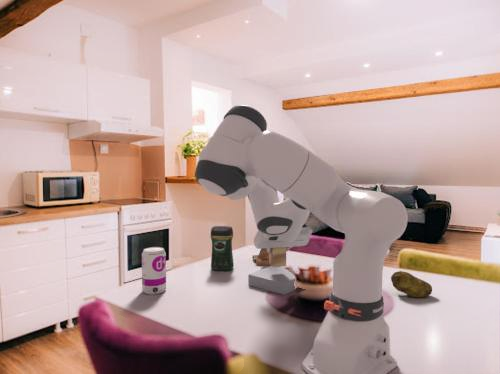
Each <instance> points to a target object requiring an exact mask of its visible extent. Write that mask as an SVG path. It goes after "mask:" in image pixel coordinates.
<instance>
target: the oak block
mask: <svg viewBox="0 0 500 374" xmlns="http://www.w3.org/2000/svg"><path fill="white" fill-rule="evenodd" d="M269 264H270V265H269V266H273V267H287V251H286V247H277V248H272V252H269Z"/></svg>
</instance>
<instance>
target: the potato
mask: <svg viewBox="0 0 500 374" xmlns="http://www.w3.org/2000/svg"><path fill="white" fill-rule="evenodd" d="M390 280H391V283H392V286H393V288H395V290H397V291H398V292H401V293H403V294H406V295H407V296H409V297H413V298H426V297H429V296H430V295H431V294H432V293H433V287H432V285H431V284H430V283H428V282H427V281H425V280H423V279H421V278H419V277H416V276H414V275H413V274H411V273H410V272H407V271H401V270H399V271H395V272H393V274H392V275H391V277H390Z"/></svg>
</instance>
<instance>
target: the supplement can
mask: <svg viewBox="0 0 500 374" xmlns="http://www.w3.org/2000/svg"><path fill="white" fill-rule="evenodd" d="M166 256H167V254H166V251H165V248H164V247H160V246H152V247H147V248H143V251H142V253H141V282H142V283H141V284H142V285H141V286H142V287H141V289H142V290H141V291H142V292H143V293H144V294H146V295H152V296H153V295H159V294H162V293H163V292H165V291H166V289H167V257H166Z"/></svg>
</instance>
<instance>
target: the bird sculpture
mask: <svg viewBox="0 0 500 374" xmlns="http://www.w3.org/2000/svg"><path fill="white" fill-rule="evenodd" d="M252 260H255V262H256V266H271V265H270V264H269V253H268V252H267V248H261V249H259V253H258V254H254V255H252Z"/></svg>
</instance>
